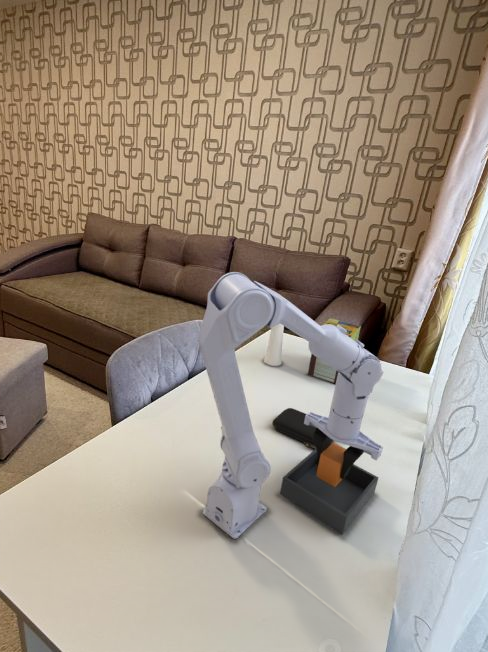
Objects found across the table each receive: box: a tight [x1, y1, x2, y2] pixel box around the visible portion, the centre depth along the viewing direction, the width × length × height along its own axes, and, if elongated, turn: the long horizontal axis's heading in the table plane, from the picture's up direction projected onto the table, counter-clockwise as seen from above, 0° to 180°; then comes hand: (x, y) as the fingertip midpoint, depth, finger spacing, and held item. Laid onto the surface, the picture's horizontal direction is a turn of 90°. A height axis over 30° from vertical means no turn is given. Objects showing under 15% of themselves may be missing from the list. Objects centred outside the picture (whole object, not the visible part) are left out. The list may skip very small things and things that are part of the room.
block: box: [316, 442, 347, 487], centre depth 75 cm, size 5×4×6 cm
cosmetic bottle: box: [263, 324, 285, 367], centre depth 129 cm, size 6×6×22 cm
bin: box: [279, 448, 379, 535], centre depth 78 cm, size 14×13×4 cm
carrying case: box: [271, 407, 335, 450], centre depth 96 cm, size 11×3×15 cm
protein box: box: [307, 318, 362, 385], centre depth 127 cm, size 10×15×16 cm
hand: (332, 469), depth 76 cm, fingers closed on block, 4 cm apart
